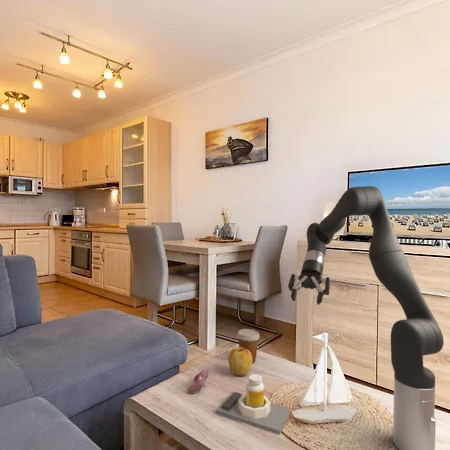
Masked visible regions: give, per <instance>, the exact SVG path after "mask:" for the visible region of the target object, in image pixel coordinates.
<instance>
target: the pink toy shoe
mask: <svg viewBox="0 0 450 450" xmlns="http://www.w3.org/2000/svg"><path fill="white" fill-rule="evenodd" d="M209 374H210V371H209V370H208V369H205V368H204V369H202V370H201V371H200V372H199V373H197V374H196V375H195V376H194V378H193V380H194V383H193V384H192V385H190V386H189V387H188V388H187V393H188V394H190V395H193V394H194V395H195V394H197V392H201V390H202V388H205V387H206V385H207V384H206V383H205V382H206V380H207V379H208V377H209Z"/></svg>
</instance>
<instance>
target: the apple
mask: <svg viewBox="0 0 450 450" xmlns="http://www.w3.org/2000/svg"><path fill="white" fill-rule="evenodd" d="M227 360H228V365H229V369H230V371H231V373H232V374H233V375H235V376H238V377H245V376H247V375H248V374H249V372H250V370H251V368H252V365H253V364H252V355H251V352H250V351H249V350H247V349H246V348H243V347H239V346H236V347H234V348H233V349H231V350H230V352H229V354H228V359H227Z"/></svg>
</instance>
